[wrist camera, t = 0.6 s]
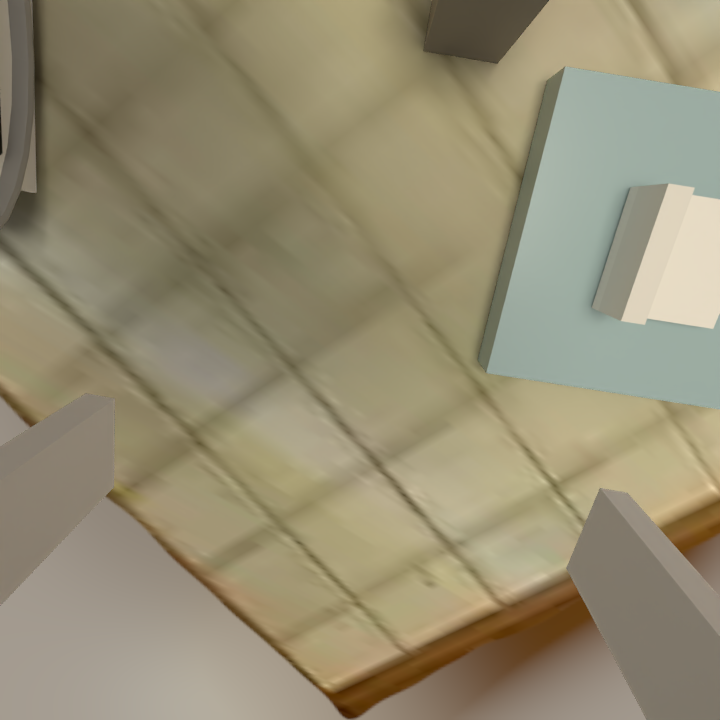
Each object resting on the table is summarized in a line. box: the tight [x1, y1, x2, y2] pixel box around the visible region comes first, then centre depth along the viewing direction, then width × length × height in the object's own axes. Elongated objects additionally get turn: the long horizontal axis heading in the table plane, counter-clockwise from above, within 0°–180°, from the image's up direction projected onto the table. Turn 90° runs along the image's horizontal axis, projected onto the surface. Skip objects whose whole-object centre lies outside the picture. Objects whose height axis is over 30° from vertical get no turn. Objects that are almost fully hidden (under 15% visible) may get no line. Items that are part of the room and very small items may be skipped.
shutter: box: [592, 183, 720, 329], centre depth 28 cm, size 8×8×4 cm
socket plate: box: [478, 67, 720, 409], centre depth 32 cm, size 20×20×3 cm
